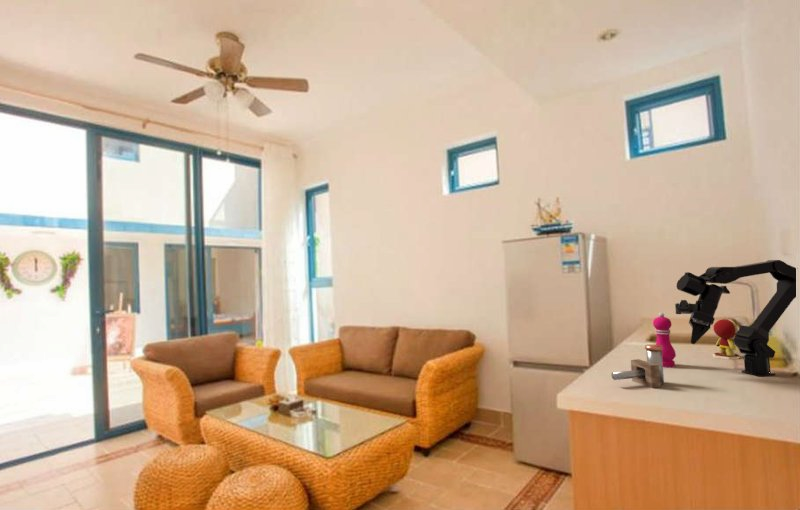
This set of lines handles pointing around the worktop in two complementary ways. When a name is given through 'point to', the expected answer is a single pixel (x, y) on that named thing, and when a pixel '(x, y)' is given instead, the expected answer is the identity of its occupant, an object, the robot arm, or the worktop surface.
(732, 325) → the figurine
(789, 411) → the worktop surface
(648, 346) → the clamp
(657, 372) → the tan wooden block
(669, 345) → the pepper mill
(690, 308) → the robot arm
